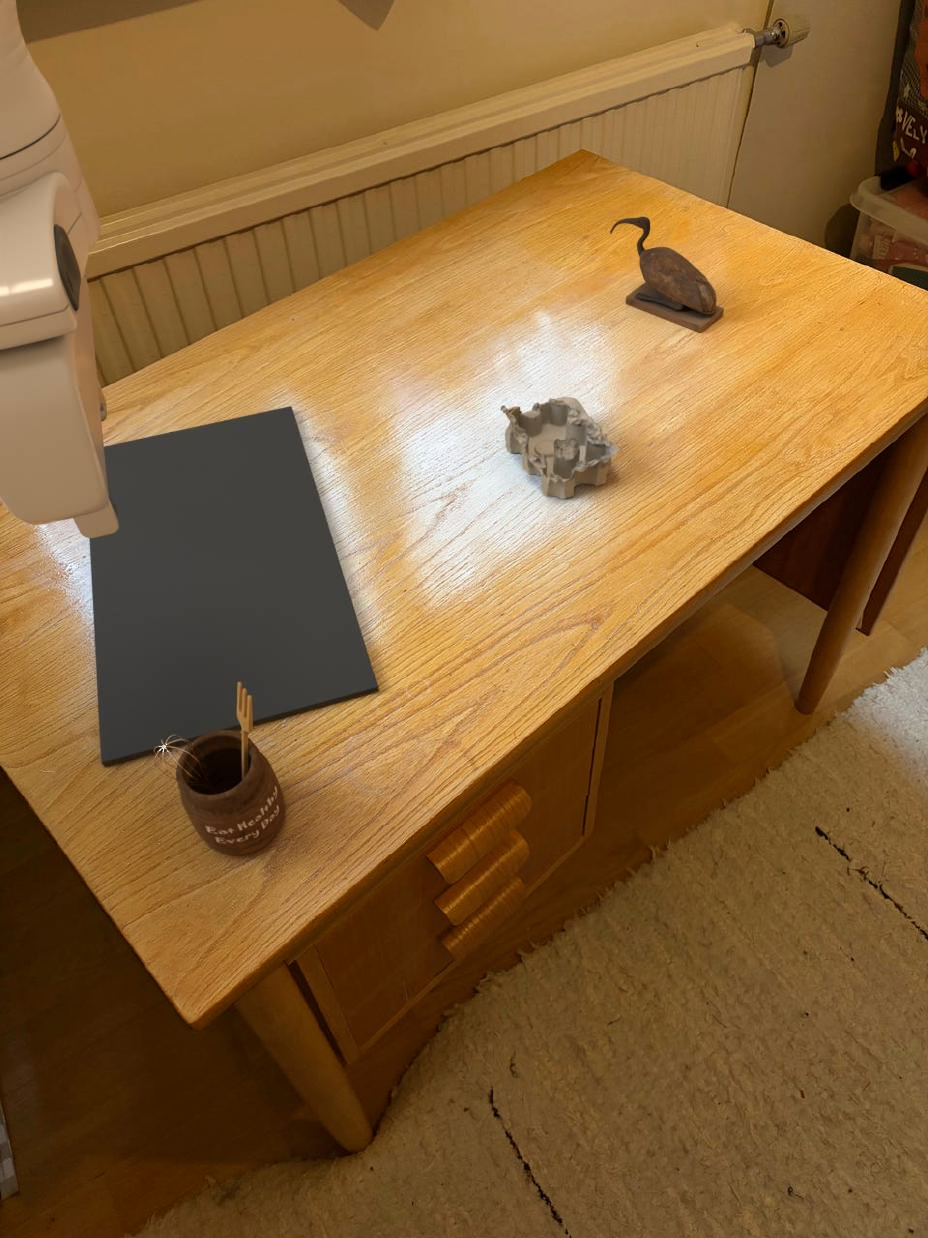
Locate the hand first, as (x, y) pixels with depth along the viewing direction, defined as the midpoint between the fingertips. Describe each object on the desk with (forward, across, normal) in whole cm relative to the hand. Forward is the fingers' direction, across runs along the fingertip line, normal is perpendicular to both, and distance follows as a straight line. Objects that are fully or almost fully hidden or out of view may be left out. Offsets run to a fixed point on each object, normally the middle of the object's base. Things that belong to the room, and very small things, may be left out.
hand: (97, 467), depth 46 cm
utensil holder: (+24, +9, +1) cm, 25 cm away
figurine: (+23, -38, +55) cm, 71 cm away
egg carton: (+23, -18, +34) cm, 45 cm away
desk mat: (+23, -16, +2) cm, 28 cm away
